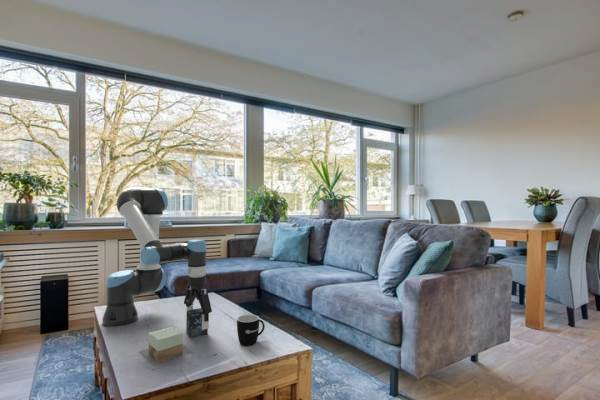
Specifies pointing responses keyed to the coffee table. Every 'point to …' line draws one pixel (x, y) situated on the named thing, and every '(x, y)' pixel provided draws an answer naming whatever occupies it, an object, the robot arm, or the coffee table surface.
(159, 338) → the tower top
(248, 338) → the mug
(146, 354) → the felt mat
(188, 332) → the box
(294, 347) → the coffee table surface
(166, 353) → the tower bottom
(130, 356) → the coffee table surface
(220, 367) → the coffee table surface
